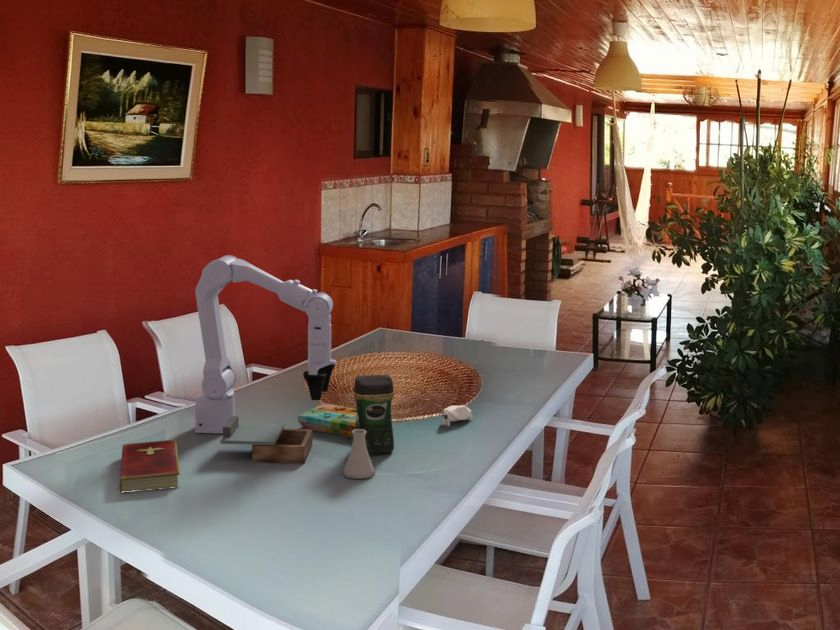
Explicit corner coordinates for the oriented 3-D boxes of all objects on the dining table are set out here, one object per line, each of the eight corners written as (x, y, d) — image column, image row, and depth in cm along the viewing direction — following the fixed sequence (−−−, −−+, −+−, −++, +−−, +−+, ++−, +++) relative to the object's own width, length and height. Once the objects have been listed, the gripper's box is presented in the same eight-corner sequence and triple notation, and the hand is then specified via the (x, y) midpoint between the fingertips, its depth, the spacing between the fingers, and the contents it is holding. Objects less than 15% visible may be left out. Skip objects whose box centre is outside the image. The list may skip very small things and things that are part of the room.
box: (252, 462, 197) (252, 445, 196) (263, 443, 208) (262, 428, 208) (304, 463, 196) (304, 447, 196) (312, 445, 208) (312, 429, 207)
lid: (220, 443, 196) (220, 430, 195) (233, 425, 208) (233, 413, 207) (274, 445, 196) (274, 431, 195) (284, 427, 208) (284, 414, 207)
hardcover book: (120, 496, 178) (119, 477, 177) (122, 460, 198) (121, 442, 197) (180, 490, 181) (179, 471, 181) (176, 455, 201) (176, 438, 200)
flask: (342, 468, 195) (342, 426, 193) (374, 467, 195) (375, 425, 193) (342, 480, 187) (342, 436, 185) (375, 480, 188) (376, 436, 186)
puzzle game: (322, 400, 229) (388, 412, 221) (322, 417, 230) (388, 429, 222) (297, 412, 219) (365, 425, 210) (297, 430, 220) (365, 443, 211)
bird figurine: (457, 434, 223) (476, 415, 230) (450, 410, 221) (470, 392, 228) (442, 433, 226) (461, 415, 233) (435, 410, 224) (454, 392, 231)
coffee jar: (390, 443, 211) (391, 370, 207) (396, 455, 203) (397, 379, 199) (351, 445, 209) (351, 371, 205) (355, 457, 201) (355, 380, 197)
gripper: (328, 350, 204) (328, 405, 207) (341, 336, 219) (341, 388, 221) (300, 348, 205) (300, 403, 208) (314, 335, 219) (314, 386, 222)
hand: (319, 395), depth 215 cm, fingers open, 7 cm apart
